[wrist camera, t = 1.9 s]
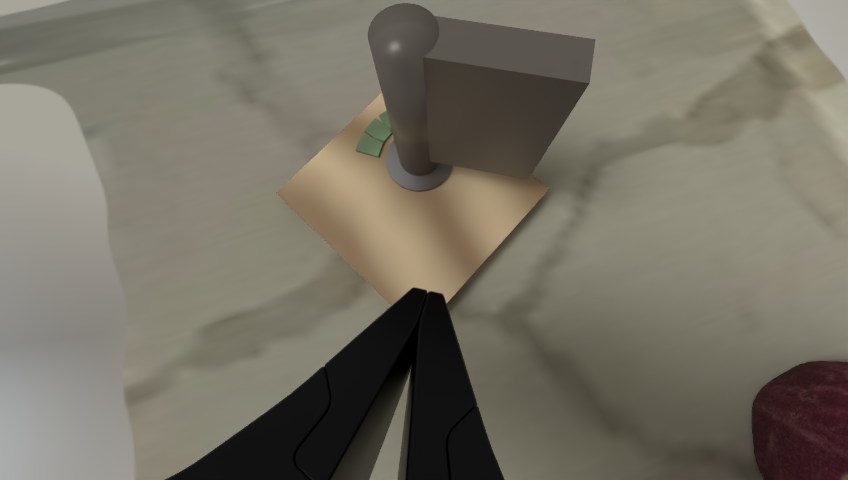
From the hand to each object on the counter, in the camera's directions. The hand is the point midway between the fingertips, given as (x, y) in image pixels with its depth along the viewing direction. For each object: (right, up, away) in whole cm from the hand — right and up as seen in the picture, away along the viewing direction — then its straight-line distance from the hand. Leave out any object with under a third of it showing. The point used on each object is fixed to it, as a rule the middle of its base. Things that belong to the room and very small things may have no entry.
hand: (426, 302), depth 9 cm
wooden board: (-1, +5, +14) cm, 14 cm away
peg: (+3, +8, +12) cm, 15 cm away
